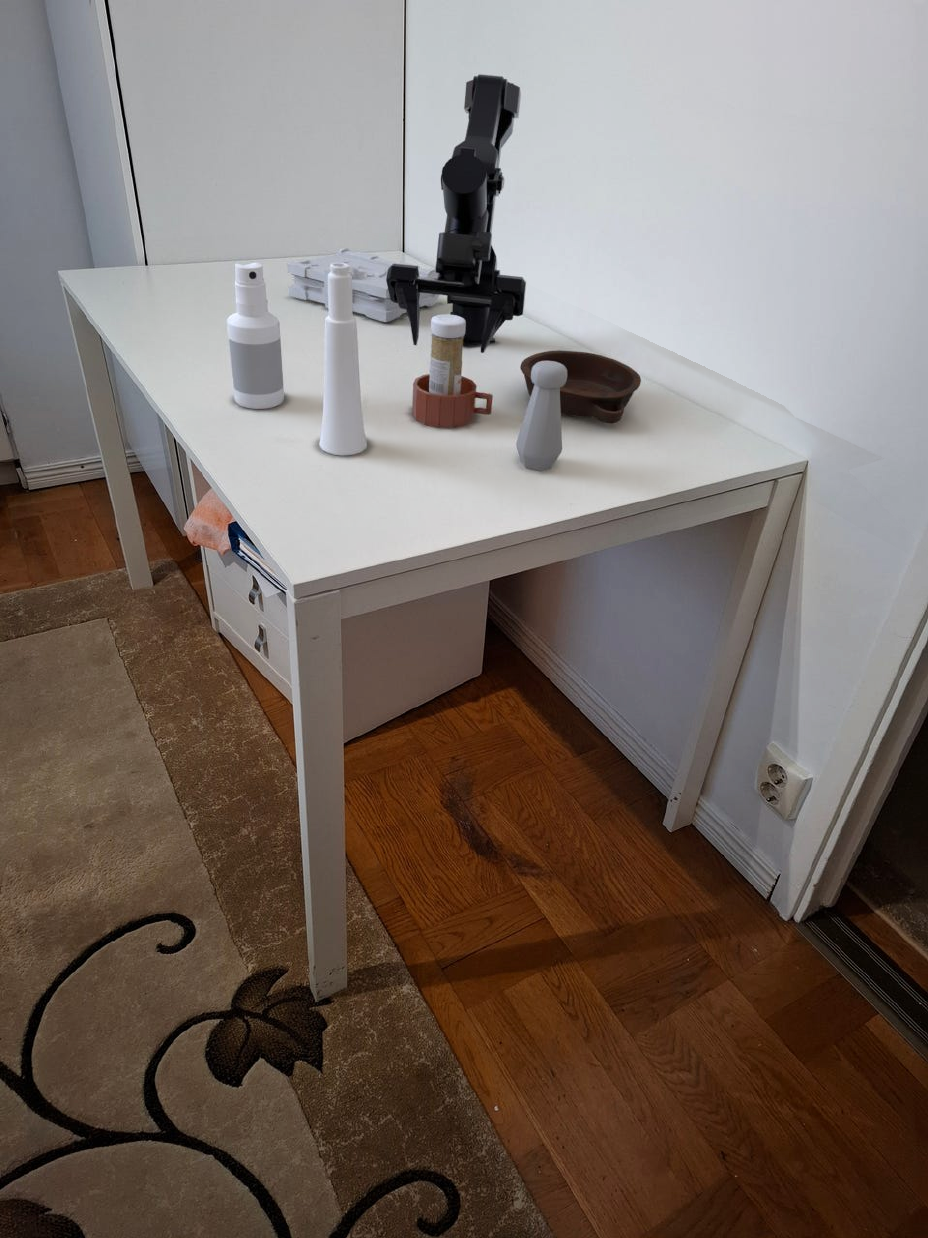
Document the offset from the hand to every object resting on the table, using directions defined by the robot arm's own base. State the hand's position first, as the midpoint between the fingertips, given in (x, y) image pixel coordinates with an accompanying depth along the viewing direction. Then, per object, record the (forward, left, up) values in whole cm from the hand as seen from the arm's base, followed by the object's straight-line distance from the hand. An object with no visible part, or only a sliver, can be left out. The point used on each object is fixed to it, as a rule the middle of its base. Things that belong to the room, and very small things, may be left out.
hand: (448, 347), depth 111 cm
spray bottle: (+22, -14, -9) cm, 28 cm away
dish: (-20, +5, -9) cm, 23 cm away
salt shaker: (-2, +19, -9) cm, 21 cm away
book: (-13, -53, -9) cm, 56 cm away
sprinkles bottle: (+1, +1, -9) cm, 9 cm away
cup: (0, +2, -9) cm, 9 cm away
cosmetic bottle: (+18, +4, -9) cm, 21 cm away
